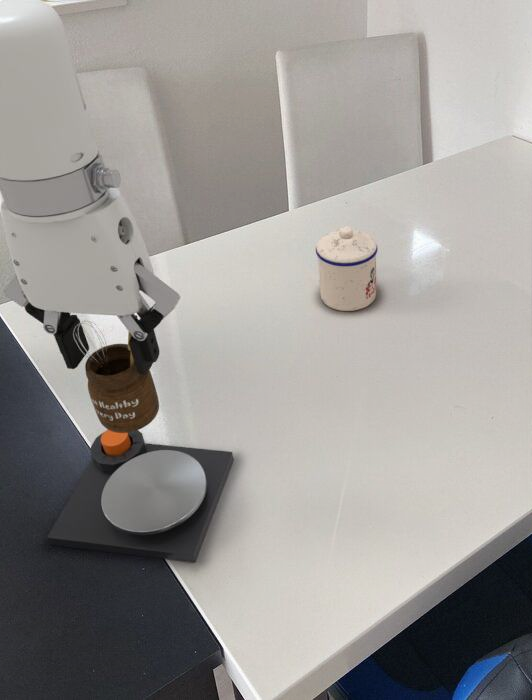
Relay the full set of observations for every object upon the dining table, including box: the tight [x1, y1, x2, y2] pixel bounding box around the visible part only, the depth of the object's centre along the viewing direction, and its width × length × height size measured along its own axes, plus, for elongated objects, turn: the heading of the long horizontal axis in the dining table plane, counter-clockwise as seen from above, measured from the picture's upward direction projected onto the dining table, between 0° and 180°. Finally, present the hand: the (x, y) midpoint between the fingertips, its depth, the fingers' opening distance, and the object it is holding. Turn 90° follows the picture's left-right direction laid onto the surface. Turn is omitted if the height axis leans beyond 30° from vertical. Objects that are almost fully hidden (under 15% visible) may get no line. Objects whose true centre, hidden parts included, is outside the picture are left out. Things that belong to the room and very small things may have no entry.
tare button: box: [101, 429, 131, 456], centre depth 78 cm, size 3×3×2 cm
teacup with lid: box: [315, 226, 378, 312], centre depth 103 cm, size 12×9×12 cm
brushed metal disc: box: [101, 450, 207, 535], centre depth 73 cm, size 11×11×1 cm
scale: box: [46, 429, 235, 563], centre depth 75 cm, size 16×15×3 cm
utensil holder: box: [73, 314, 160, 433], centre depth 63 cm, size 6×6×12 cm
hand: (113, 360), depth 63 cm, fingers closed on utensil holder, 6 cm apart
